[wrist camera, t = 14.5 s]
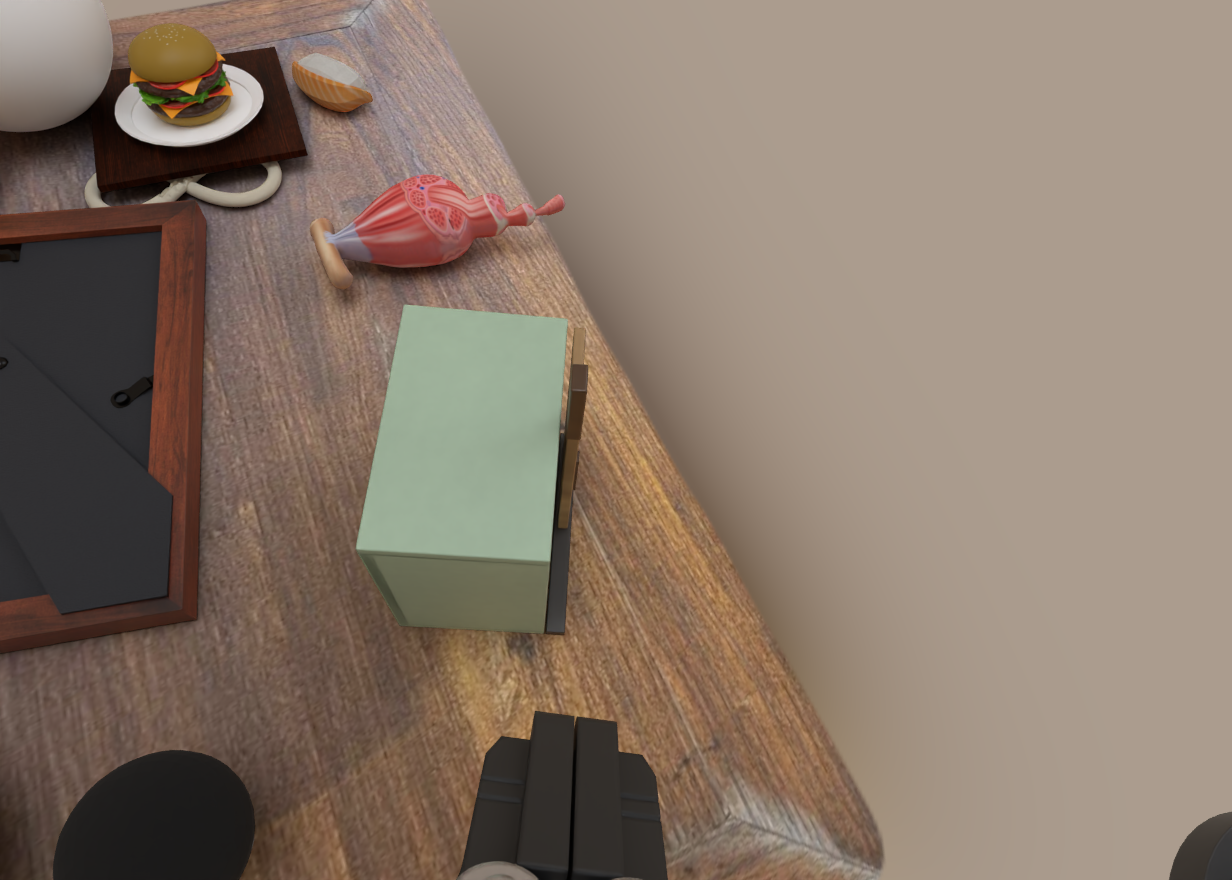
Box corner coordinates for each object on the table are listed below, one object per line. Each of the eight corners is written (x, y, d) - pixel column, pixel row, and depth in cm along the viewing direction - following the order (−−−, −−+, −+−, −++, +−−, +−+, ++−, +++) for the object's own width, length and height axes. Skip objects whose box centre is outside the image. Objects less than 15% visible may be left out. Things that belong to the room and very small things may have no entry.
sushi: (302, 39, 52) (271, 64, 51) (376, 71, 51) (347, 97, 50) (315, 74, 55) (286, 98, 53) (386, 105, 53) (359, 131, 52)
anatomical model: (548, 132, 46) (575, 202, 43) (552, 195, 51) (577, 263, 48) (293, 181, 44) (304, 258, 41) (321, 242, 48) (332, 316, 45)
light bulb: (314, 890, 32) (234, 907, 23) (162, 950, 30) (14, 993, 22) (289, 747, 34) (208, 714, 26) (147, 798, 33) (8, 780, 24)
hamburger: (101, 192, 46) (50, 109, 41) (91, 79, 52) (46, -5, 47) (307, 155, 49) (282, 74, 44) (276, 53, 55) (251, -29, 50)
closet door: (576, 434, 42) (596, 272, 30) (570, 529, 40) (589, 392, 28) (563, 433, 42) (578, 270, 30) (556, 528, 39) (570, 390, 28)
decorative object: (81, 219, 45) (80, 160, 47) (90, 232, 46) (88, 173, 48) (284, 192, 48) (274, 137, 50) (288, 205, 49) (278, 151, 51)
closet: (576, 438, 43) (591, 320, 33) (564, 635, 38) (577, 563, 28) (431, 427, 42) (403, 303, 33) (399, 626, 37) (354, 549, 28)
